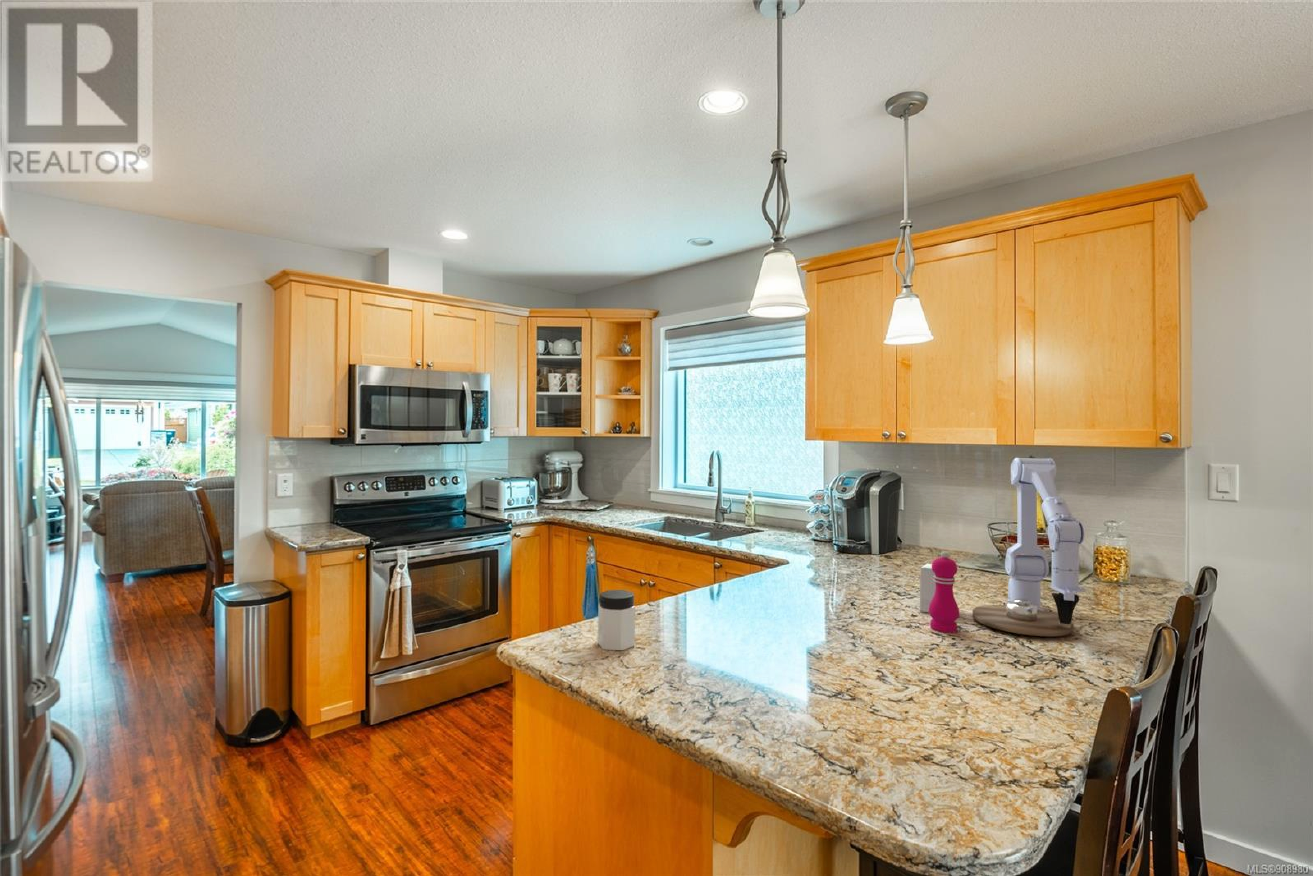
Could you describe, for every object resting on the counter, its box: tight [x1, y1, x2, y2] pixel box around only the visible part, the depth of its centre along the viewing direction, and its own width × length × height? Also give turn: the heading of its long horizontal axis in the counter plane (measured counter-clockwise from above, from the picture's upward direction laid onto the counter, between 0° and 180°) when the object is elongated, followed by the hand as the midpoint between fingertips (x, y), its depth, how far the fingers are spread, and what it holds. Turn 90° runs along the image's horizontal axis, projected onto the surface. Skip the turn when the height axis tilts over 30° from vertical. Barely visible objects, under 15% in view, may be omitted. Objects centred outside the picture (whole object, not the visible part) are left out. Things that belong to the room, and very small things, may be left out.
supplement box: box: [919, 563, 936, 614], centre depth 175 cm, size 7×7×13 cm
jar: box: [597, 589, 636, 651], centre depth 144 cm, size 9×8×12 cm
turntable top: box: [971, 604, 1075, 637], centre depth 162 cm, size 23×23×4 cm
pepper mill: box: [928, 551, 960, 633], centre depth 158 cm, size 7×7×20 cm
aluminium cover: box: [1005, 599, 1037, 622], centre depth 162 cm, size 7×7×4 cm
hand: (1064, 623), depth 153 cm, fingers closed, pressing on turntable top
